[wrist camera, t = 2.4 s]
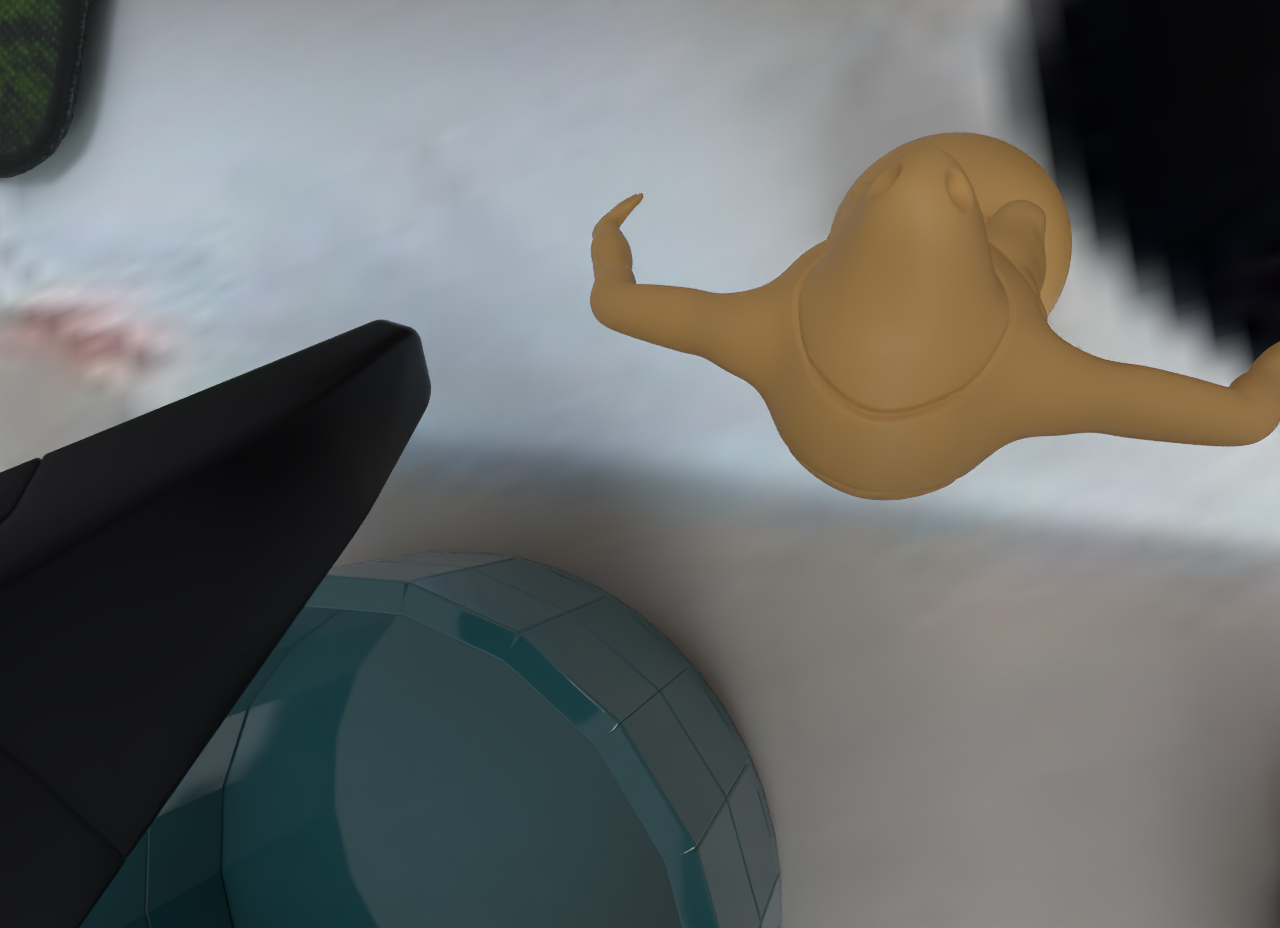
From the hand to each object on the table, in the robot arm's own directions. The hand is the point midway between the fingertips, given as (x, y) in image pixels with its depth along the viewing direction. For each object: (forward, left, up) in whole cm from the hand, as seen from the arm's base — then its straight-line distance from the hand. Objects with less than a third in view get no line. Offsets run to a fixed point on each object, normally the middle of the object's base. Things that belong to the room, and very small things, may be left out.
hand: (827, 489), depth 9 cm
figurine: (+2, -2, -10) cm, 11 cm away
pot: (-2, +12, -10) cm, 16 cm away
